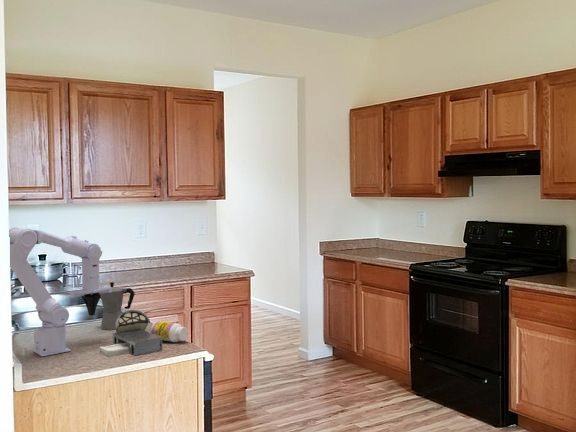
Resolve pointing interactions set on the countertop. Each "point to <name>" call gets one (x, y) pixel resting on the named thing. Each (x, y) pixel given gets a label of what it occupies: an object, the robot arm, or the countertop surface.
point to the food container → (132, 321)
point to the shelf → (139, 341)
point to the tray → (115, 349)
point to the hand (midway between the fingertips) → (91, 314)
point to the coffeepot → (114, 306)
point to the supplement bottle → (169, 331)
